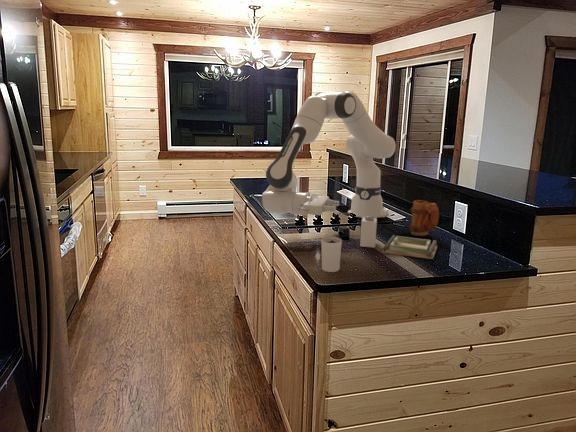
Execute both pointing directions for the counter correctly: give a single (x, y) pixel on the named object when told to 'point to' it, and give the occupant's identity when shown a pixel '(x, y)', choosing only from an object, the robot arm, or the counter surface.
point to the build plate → (344, 233)
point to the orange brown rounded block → (423, 217)
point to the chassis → (411, 247)
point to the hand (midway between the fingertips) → (337, 206)
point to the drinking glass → (331, 253)
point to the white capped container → (368, 231)
